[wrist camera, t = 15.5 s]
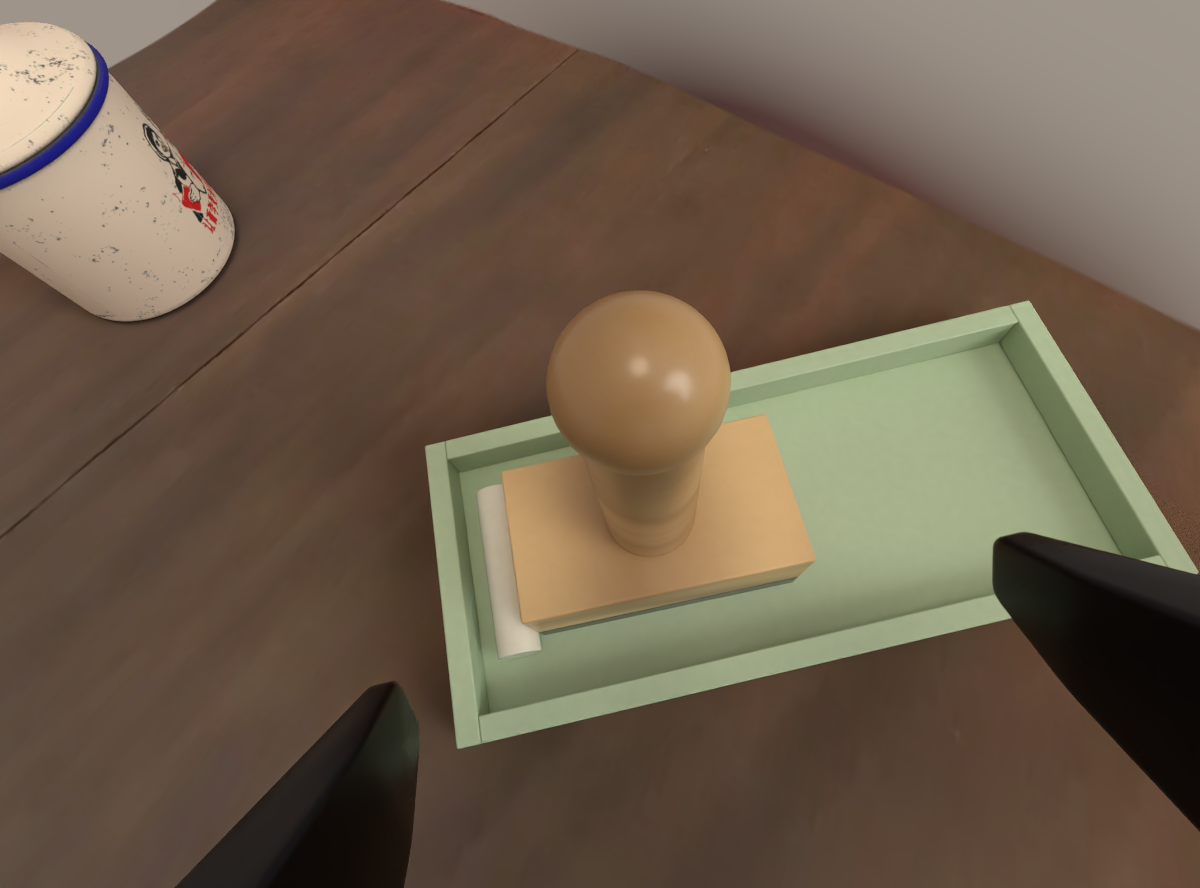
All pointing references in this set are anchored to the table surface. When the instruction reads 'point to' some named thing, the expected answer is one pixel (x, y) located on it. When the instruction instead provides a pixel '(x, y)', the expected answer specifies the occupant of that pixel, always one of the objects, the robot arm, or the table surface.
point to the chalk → (503, 578)
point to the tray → (822, 521)
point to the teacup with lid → (98, 184)
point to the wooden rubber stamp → (647, 476)
